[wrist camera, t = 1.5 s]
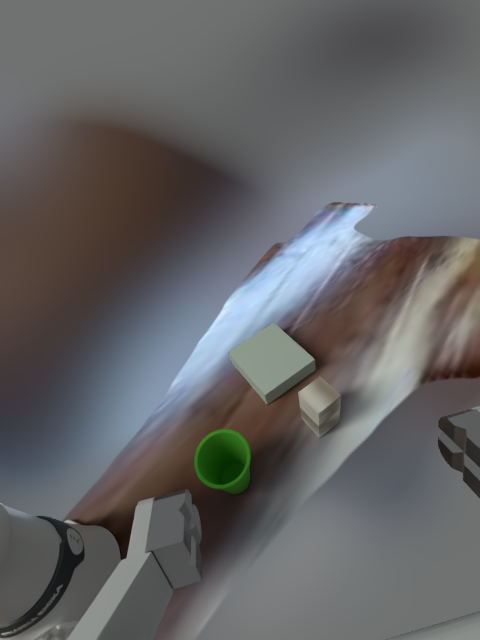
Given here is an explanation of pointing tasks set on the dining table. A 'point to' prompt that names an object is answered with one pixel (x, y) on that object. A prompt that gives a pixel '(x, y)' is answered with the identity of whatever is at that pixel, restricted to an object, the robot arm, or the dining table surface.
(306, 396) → the cream block
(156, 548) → the robot arm
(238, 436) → the cup
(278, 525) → the dining table surface
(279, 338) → the base plinth
